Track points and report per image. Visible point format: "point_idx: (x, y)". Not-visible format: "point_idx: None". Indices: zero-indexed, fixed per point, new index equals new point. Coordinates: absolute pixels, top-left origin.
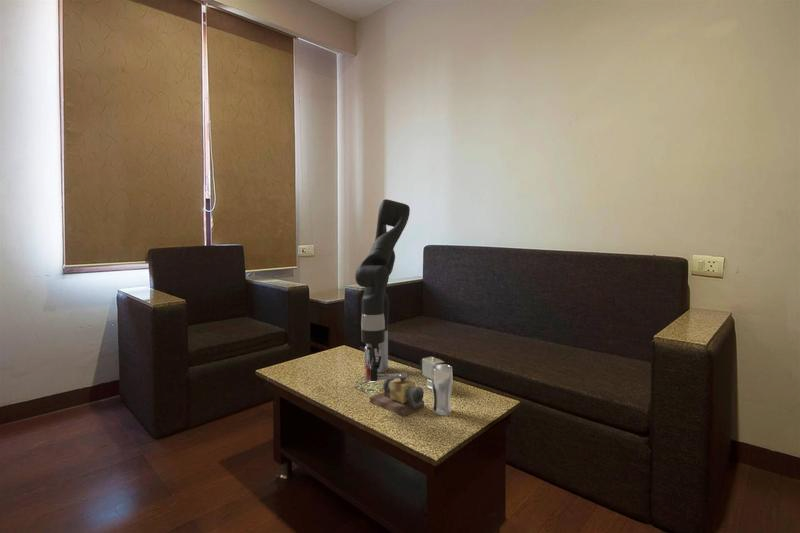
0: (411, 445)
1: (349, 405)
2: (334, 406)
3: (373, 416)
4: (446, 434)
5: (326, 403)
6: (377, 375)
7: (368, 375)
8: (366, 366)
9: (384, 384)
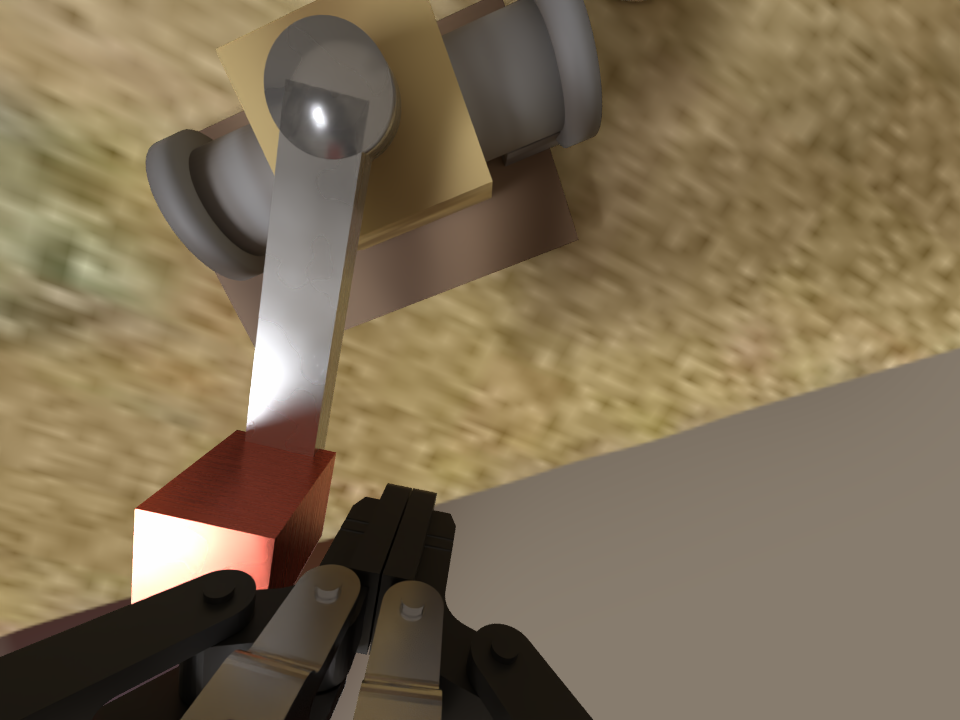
0: (896, 363)
1: None
2: None
3: (479, 406)
4: (939, 102)
5: None
6: (427, 521)
7: (306, 552)
8: None
9: (242, 272)
